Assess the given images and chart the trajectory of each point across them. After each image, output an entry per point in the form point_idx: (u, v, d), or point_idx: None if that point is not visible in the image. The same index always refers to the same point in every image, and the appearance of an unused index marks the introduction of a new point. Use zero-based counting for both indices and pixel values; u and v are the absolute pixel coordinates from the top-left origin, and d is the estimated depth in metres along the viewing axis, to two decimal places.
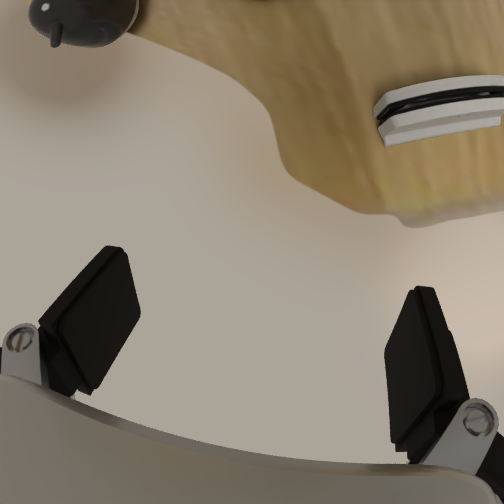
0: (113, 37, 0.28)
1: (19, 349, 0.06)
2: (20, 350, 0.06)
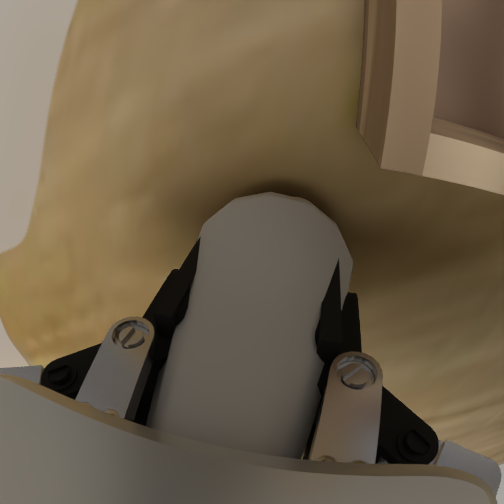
0: None
1: (124, 344, 0.07)
2: (125, 345, 0.07)
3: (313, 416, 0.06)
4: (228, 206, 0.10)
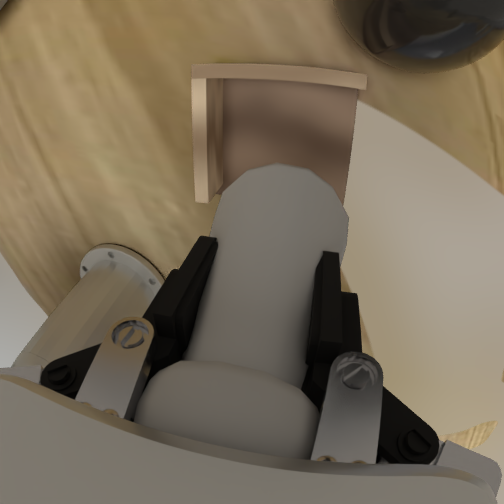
0: None
1: (124, 344, 0.07)
2: (125, 345, 0.07)
3: None
4: (243, 175, 0.13)
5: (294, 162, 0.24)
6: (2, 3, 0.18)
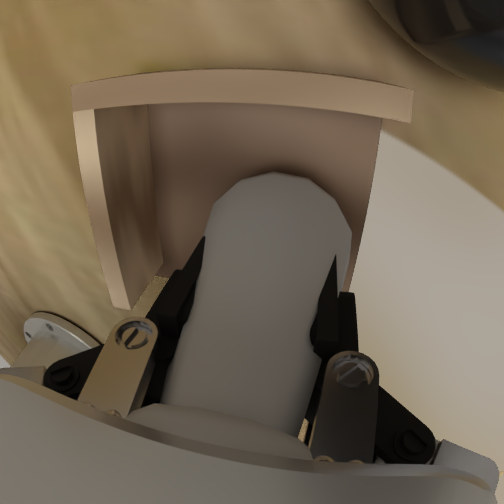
0: None
1: (127, 345, 0.07)
2: (128, 346, 0.07)
3: (320, 358, 0.07)
4: (236, 185, 0.11)
5: None
6: None
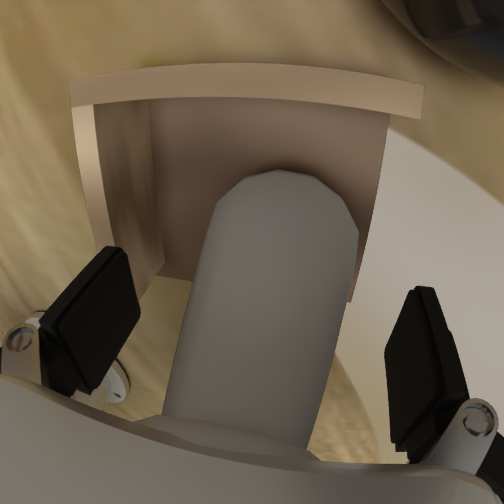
0: None
1: (19, 349, 0.06)
2: (20, 350, 0.06)
3: (329, 364, 0.07)
4: (240, 183, 0.11)
5: None
6: None
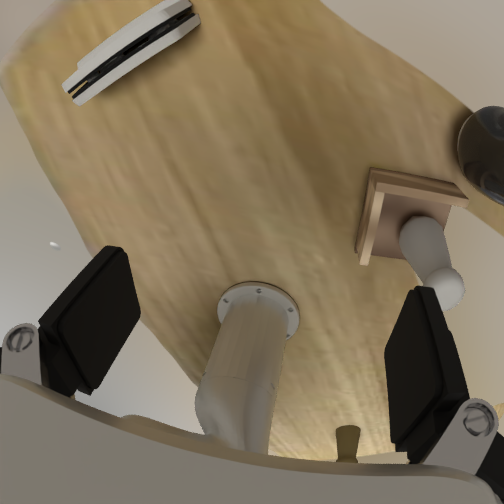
0: (486, 109, 0.23)
1: (19, 349, 0.06)
2: (20, 350, 0.06)
3: None
4: (415, 220, 0.33)
5: None
6: None
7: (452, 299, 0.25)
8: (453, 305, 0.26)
